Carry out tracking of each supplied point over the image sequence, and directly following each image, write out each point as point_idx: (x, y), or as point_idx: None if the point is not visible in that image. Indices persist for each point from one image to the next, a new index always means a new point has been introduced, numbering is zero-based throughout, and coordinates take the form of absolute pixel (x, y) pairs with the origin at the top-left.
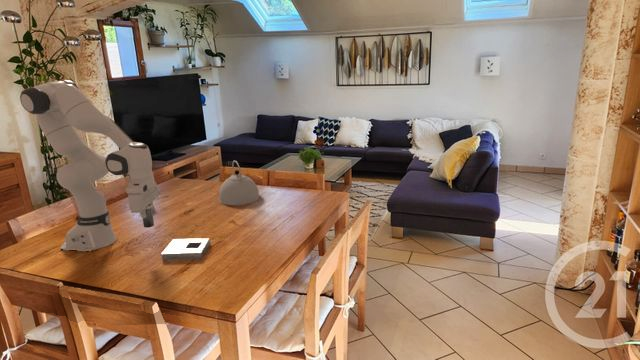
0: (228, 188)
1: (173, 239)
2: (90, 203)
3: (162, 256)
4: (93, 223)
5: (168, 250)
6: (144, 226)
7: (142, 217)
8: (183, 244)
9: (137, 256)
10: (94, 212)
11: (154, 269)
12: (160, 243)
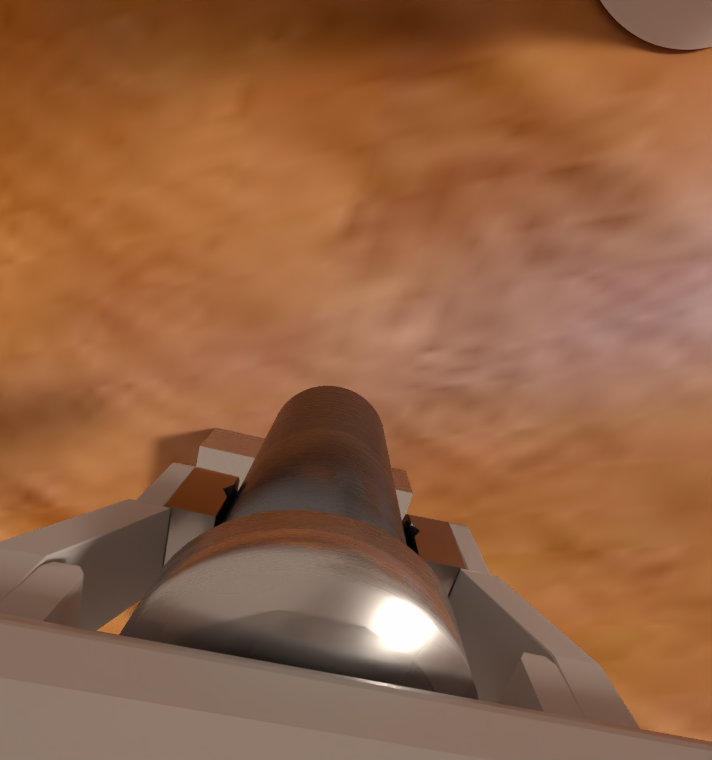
0: None
1: (409, 494)
2: None
3: (206, 441)
4: None
5: (240, 481)
6: (290, 402)
7: (170, 475)
8: None
9: (319, 270)
10: None
11: (110, 396)
12: (472, 390)
